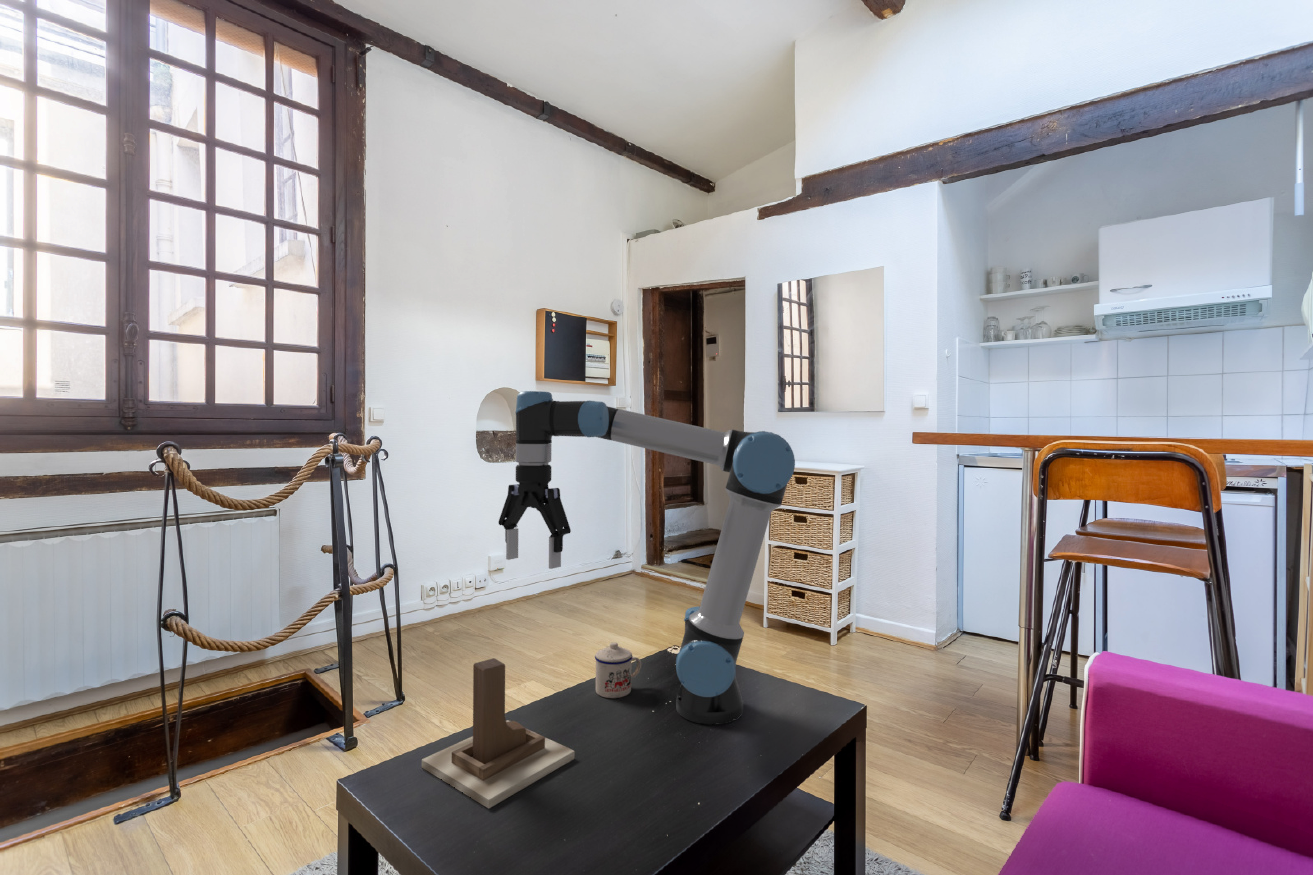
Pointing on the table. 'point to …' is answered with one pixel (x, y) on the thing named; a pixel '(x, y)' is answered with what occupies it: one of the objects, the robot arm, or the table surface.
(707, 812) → the table surface
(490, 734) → the wooden block
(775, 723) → the table surface
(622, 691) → the teacup with lid
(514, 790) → the keyed plate
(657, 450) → the robot arm
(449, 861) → the table surface
